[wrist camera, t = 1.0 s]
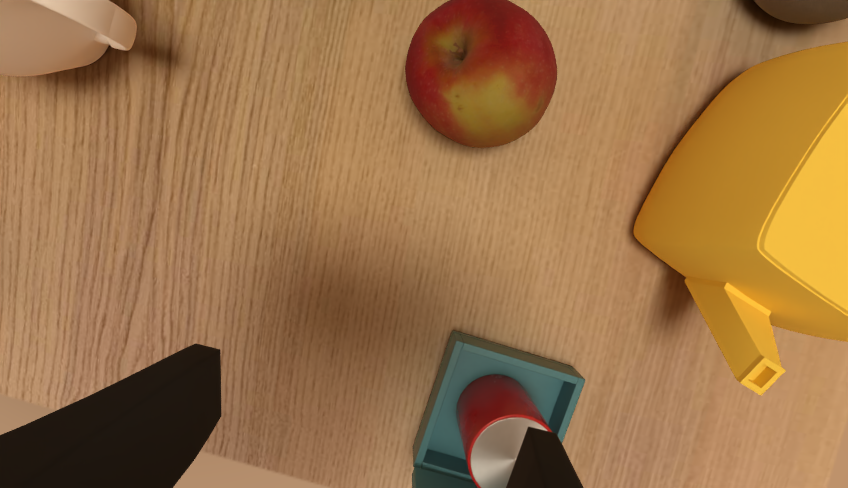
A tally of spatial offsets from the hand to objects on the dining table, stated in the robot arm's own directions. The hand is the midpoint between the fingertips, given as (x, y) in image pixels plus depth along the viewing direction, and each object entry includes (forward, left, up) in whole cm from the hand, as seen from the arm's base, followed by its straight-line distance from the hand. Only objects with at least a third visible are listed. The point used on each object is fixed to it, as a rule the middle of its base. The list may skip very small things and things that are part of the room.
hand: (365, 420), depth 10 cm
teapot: (+5, -23, -19) cm, 30 cm away
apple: (+12, -5, -19) cm, 23 cm away
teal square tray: (-9, -7, -19) cm, 22 cm away
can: (-9, -7, -18) cm, 22 cm away
